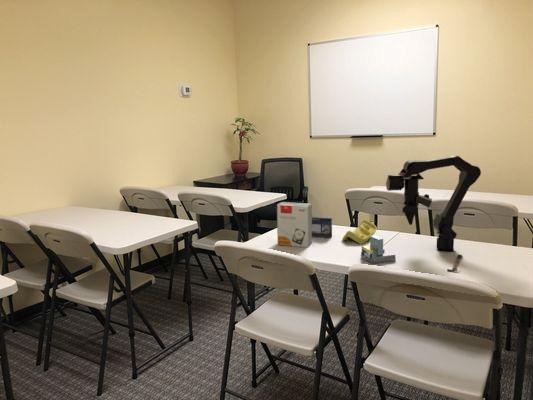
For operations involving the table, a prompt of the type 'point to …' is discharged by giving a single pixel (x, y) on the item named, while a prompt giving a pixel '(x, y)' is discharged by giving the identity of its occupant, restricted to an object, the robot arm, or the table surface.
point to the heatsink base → (375, 258)
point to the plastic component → (361, 232)
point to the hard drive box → (294, 224)
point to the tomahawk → (456, 264)
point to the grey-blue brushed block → (375, 246)
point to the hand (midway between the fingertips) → (410, 224)
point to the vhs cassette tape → (321, 227)
